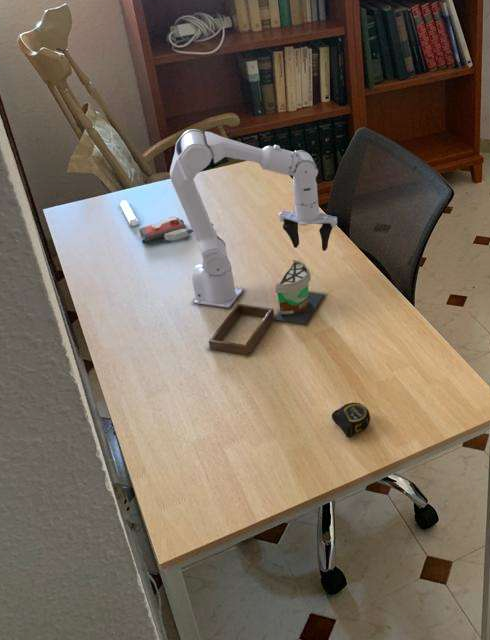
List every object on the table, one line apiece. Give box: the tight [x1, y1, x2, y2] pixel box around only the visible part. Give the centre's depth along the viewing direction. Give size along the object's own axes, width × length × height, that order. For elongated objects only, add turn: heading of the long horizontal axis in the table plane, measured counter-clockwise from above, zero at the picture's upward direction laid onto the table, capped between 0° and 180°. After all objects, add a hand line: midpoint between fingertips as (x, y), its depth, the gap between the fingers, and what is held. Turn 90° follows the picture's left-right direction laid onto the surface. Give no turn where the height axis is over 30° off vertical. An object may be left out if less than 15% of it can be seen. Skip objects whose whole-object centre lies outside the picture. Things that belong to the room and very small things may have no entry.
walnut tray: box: [208, 303, 276, 356], centre depth 188 cm, size 9×15×2 cm, turn 167°
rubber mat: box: [274, 291, 325, 326], centre depth 198 cm, size 8×13×1 cm, turn 167°
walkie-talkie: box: [138, 216, 214, 245], centre depth 227 cm, size 9×4×20 cm
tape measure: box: [331, 402, 371, 439], centre depth 162 cm, size 7×7×4 cm
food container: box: [275, 259, 312, 316], centre depth 195 cm, size 12×6×10 cm, turn 168°
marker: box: [119, 200, 139, 227], centre depth 238 cm, size 3×2×16 cm
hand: (310, 247), depth 203 cm, fingers open, 7 cm apart
